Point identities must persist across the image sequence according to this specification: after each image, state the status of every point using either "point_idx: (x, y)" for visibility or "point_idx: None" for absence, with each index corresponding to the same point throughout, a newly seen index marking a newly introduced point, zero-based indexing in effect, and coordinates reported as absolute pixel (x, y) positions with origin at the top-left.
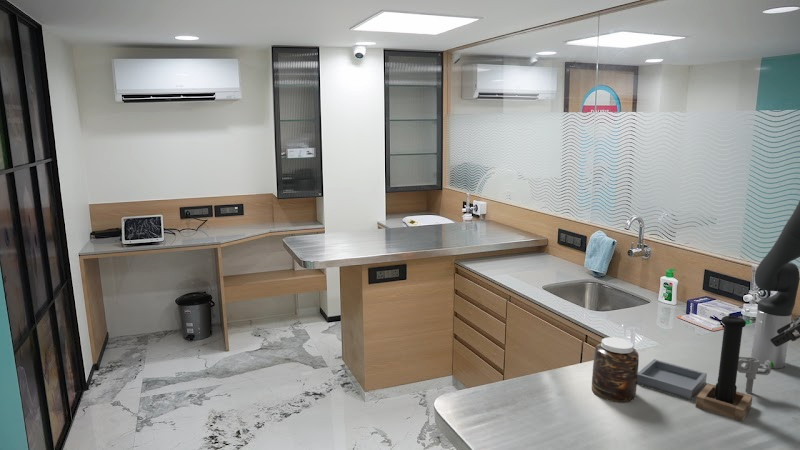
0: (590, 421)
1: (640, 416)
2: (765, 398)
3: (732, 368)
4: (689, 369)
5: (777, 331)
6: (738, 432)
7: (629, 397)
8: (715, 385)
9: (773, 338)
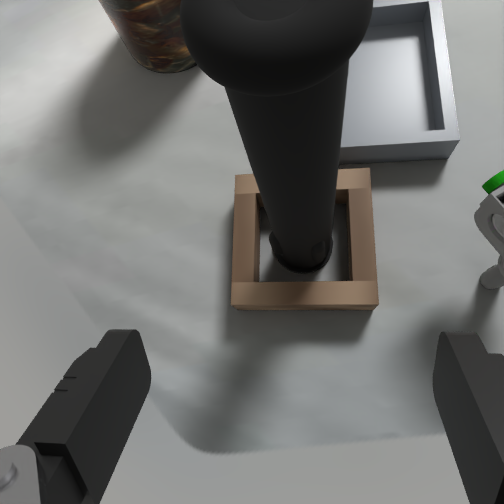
0: (11, 60)
1: (95, 117)
2: (486, 335)
3: (267, 208)
4: (445, 90)
5: (443, 338)
6: (161, 316)
7: (145, 61)
8: (370, 190)
9: (100, 349)
